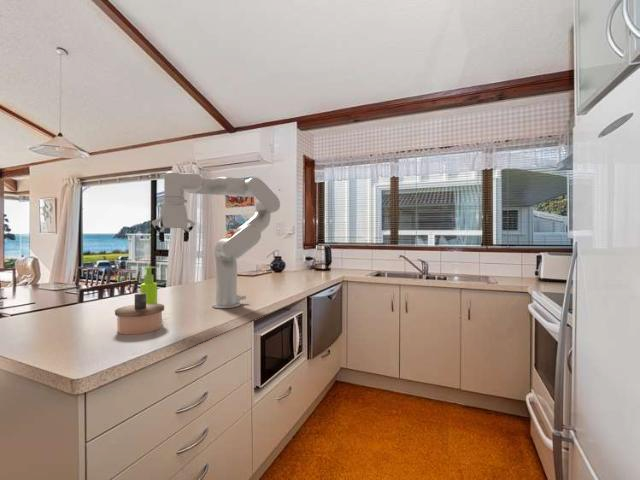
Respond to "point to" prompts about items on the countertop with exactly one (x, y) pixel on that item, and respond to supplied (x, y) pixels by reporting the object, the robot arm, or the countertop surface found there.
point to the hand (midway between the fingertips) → (174, 241)
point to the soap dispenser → (149, 287)
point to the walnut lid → (139, 308)
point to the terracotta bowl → (139, 324)
